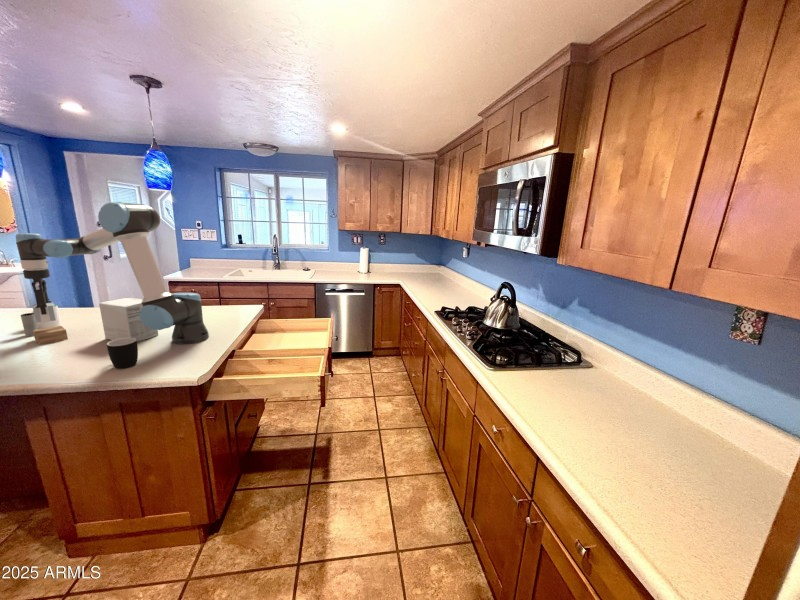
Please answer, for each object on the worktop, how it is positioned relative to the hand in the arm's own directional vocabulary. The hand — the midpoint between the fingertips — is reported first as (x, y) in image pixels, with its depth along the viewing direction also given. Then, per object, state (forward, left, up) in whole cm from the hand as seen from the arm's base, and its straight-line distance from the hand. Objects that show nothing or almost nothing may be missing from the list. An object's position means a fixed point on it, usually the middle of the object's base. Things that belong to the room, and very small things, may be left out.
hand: (46, 319), depth 144 cm
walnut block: (0, 0, -10) cm, 10 cm away
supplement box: (-16, -28, -10) cm, 34 cm away
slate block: (0, 0, 0) cm, 0 cm away
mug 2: (+25, +4, -10) cm, 27 cm away
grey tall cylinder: (+13, +7, -10) cm, 18 cm away
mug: (-51, -23, -10) cm, 57 cm away
